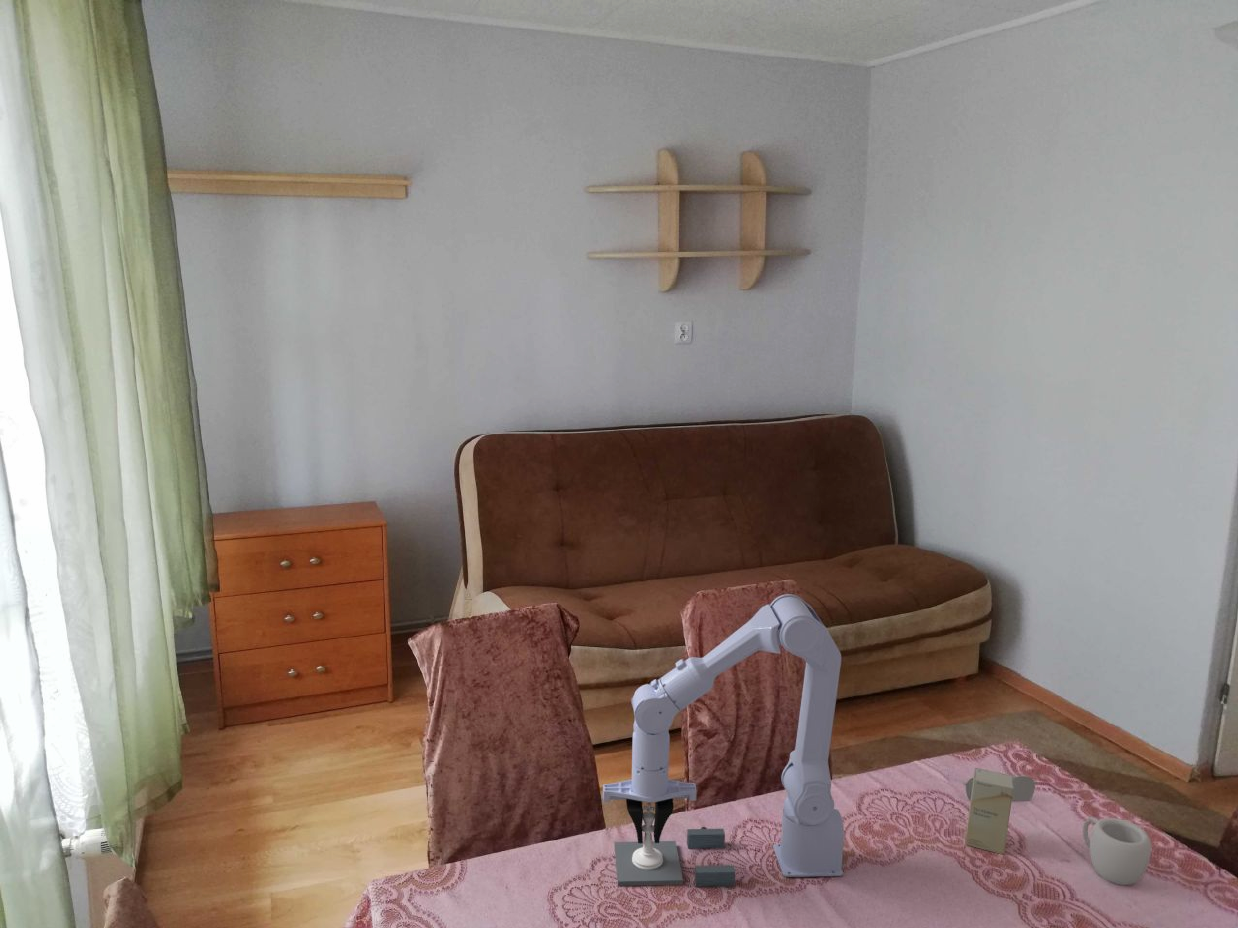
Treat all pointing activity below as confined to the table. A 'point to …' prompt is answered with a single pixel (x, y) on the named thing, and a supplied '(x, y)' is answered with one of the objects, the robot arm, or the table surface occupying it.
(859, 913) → the table surface
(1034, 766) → the table surface
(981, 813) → the skincare box
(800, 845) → the robot arm
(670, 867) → the mat
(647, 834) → the chess piece
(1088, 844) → the mug
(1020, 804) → the table surface
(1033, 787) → the sunglasses
